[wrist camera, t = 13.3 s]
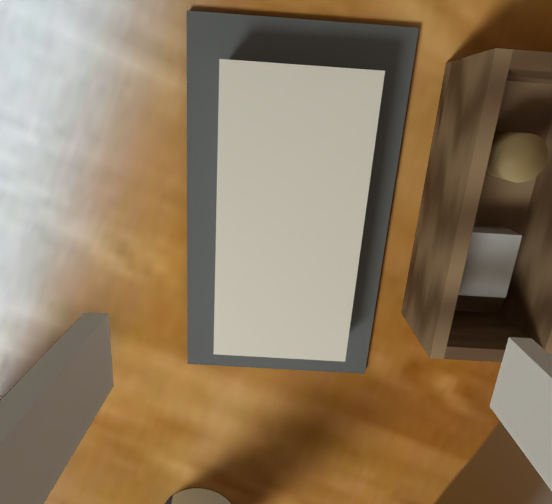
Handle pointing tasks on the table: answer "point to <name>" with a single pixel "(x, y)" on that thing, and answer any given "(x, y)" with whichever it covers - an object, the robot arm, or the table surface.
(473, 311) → the walnut box
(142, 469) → the table surface
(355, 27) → the rubber mat
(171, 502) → the water bottle
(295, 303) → the lid
